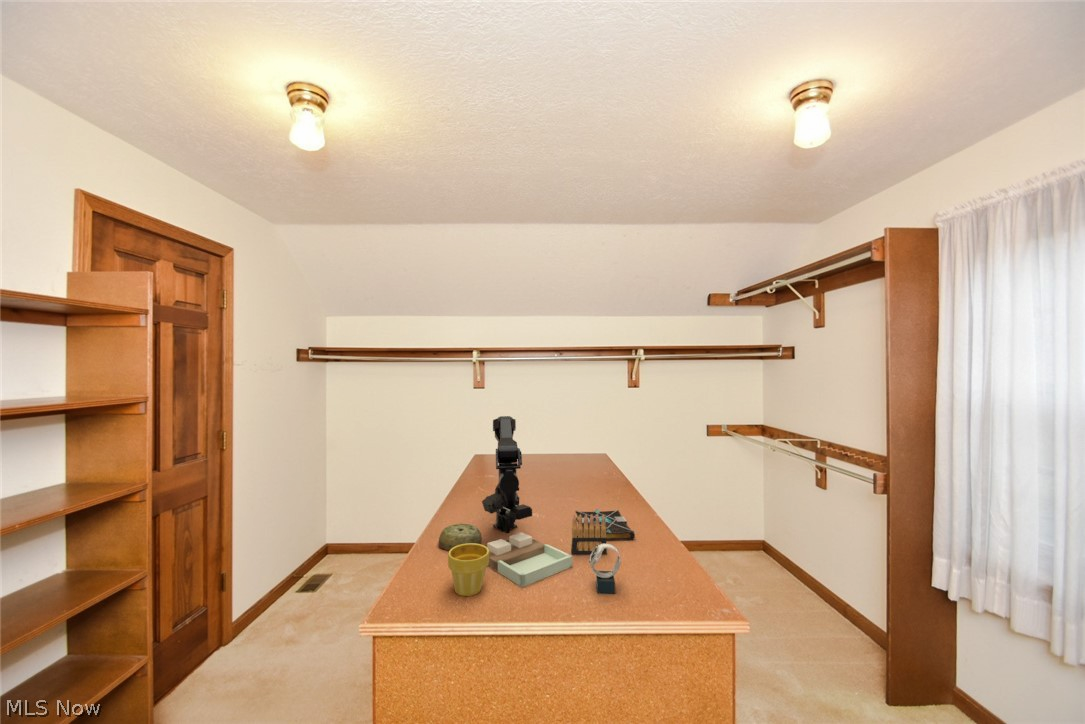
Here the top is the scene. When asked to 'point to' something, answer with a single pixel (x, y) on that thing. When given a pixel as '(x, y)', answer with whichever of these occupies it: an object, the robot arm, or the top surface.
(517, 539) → the tile
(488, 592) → the top surface
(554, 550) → the tray
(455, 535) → the weight
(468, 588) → the plant pot
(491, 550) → the tile
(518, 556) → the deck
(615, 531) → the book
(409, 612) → the top surface
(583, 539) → the ammunition clip
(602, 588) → the watch
